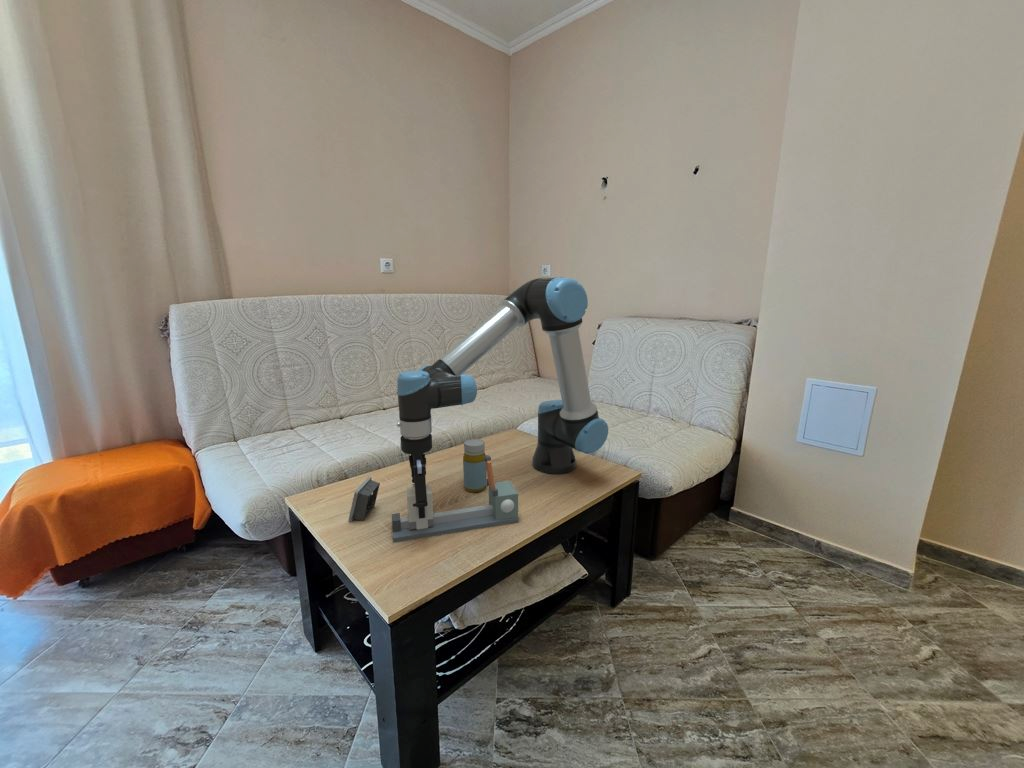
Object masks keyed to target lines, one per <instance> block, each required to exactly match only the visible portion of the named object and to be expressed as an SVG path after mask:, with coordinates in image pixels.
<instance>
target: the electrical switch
mask: <svg viewBox="0 0 1024 768" xmlns="http://www.w3.org/2000/svg"><path fill="white" fill-rule="evenodd" d="M380 485H381V483H380V482H377V481H375V480H372V477H371V476H367V478H366V479H365V480H363V482H362V483H361V484H360V485H359V486H358V487H357V488H356V489H355V491H354V492H353V493H354V494H353V498H352V503H351V507H350V511H349V516H348V521H349V522H353V520H356V521H362V522H364V521H365V519H366V518H367V517H368V516H369V514H370V513H371V512H372V510H374V507H375V506H376V502H377V497H378V492H379V489H380Z"/></svg>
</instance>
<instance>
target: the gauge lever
mask: <svg viewBox="0 0 1024 768" xmlns="http://www.w3.org/2000/svg"><path fill="white" fill-rule="evenodd" d="M485 455H486V456H485V457H484V461H485V464H486V478H487V479H488V483H489V485H490V487H491V489H495V484H494V483H495V479H494V474H493V472H494V471H493V465H492V461H491V460H492V457H491V456H490V455H488V454H485ZM492 491H493V490H492Z"/></svg>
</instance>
